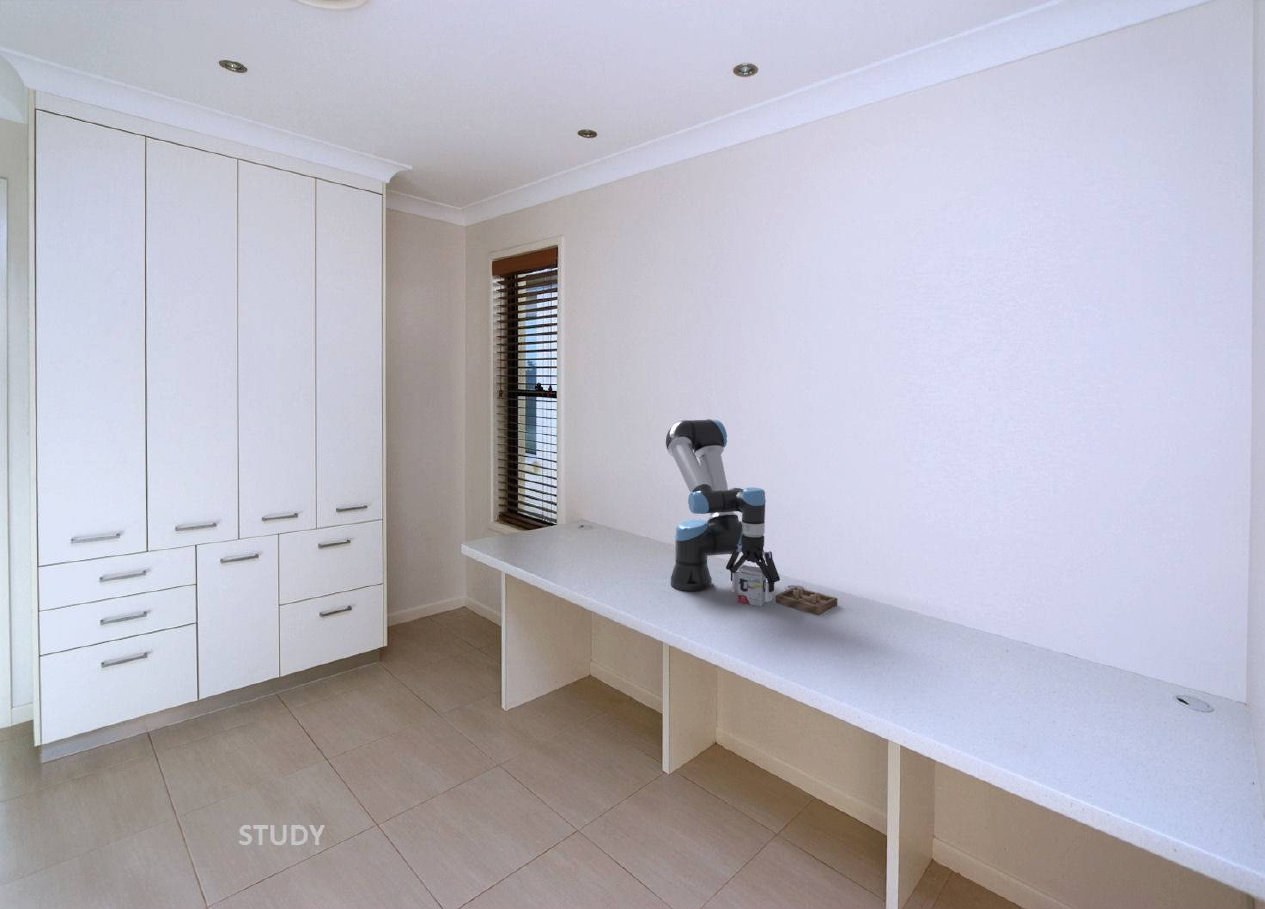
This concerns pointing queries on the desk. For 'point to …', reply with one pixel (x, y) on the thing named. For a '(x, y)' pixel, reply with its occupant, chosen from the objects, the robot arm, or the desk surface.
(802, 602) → the peg frame
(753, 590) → the ink box
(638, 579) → the desk surface
